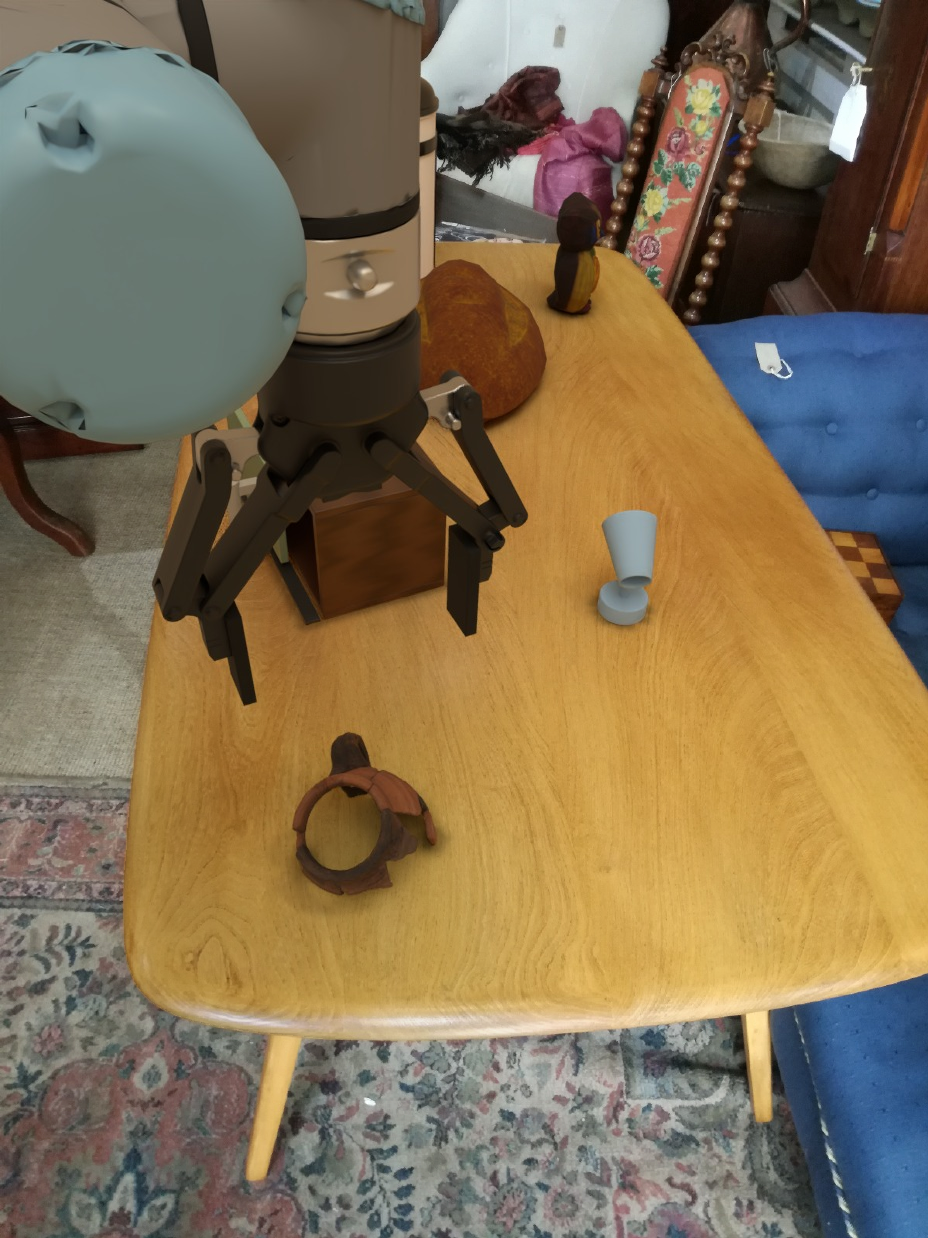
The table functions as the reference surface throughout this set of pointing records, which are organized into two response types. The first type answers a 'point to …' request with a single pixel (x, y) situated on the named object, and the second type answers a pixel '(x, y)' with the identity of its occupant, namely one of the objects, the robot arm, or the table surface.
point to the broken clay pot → (390, 799)
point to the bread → (479, 336)
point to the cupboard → (364, 549)
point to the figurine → (576, 254)
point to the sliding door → (250, 483)
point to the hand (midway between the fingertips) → (357, 653)
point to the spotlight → (628, 565)
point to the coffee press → (428, 174)
